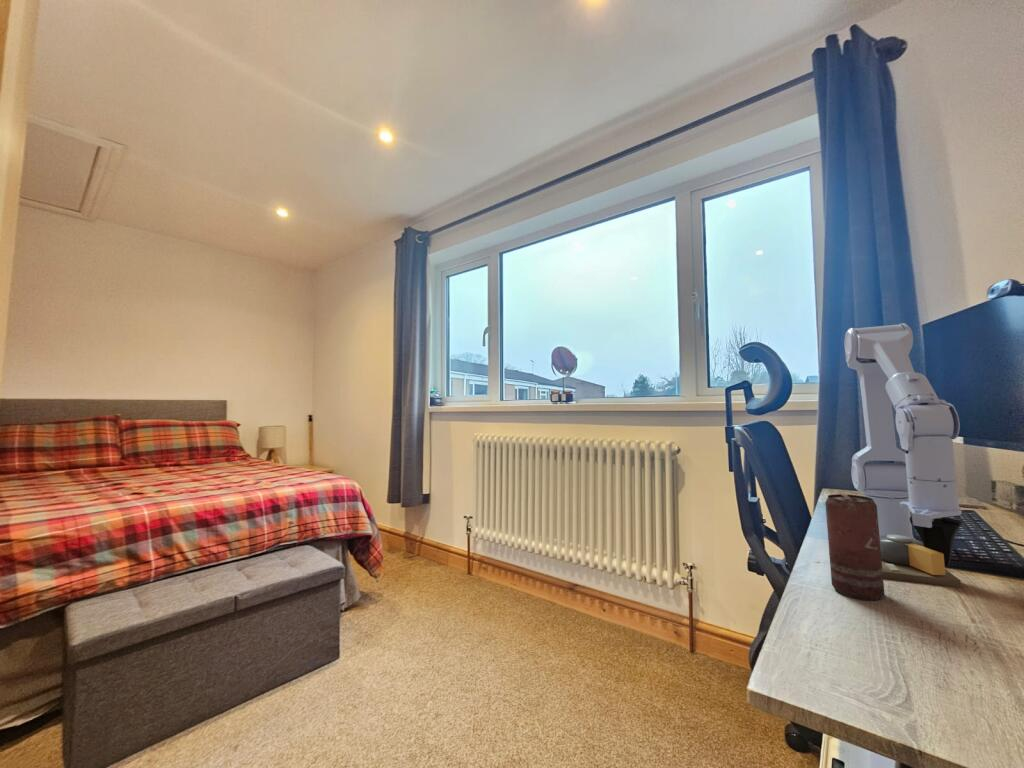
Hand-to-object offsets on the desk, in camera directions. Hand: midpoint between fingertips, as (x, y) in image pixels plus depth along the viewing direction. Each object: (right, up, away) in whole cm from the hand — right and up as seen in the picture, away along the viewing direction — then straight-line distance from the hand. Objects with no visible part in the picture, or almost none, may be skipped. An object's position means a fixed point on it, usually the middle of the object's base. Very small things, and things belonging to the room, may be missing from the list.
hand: (938, 564), depth 68 cm
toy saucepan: (-2, -1, +3) cm, 3 cm away
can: (-17, -2, -5) cm, 18 cm away
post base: (-2, -2, +4) cm, 5 cm away
